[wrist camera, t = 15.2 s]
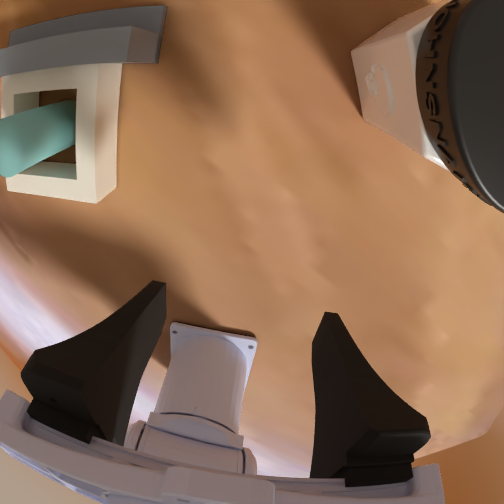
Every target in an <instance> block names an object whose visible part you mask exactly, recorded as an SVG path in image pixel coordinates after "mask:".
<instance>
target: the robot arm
mask: <svg viewBox="0 0 504 504" xmlns="http://www.w3.org/2000/svg"><path fill="white" fill-rule="evenodd" d="M165 319H166V283H163V282H159V281H154V280H153V281H152V282H150V283H149V284H148V285H147V286H146V287H145V288H144V289H142V290H141V291H140V292H139V293H138V294H137V295H136V296H134V297H133V298H132V299H131V300H130V301H128V302H127V303H126V304H125V305H124V306H122V307H121V308H120V309H118V310H117V311H116V312H114V313H113V314H112V315H110V316H109V317H108V318H106V319H105V320H103V321H102V322H100V323H98V324H97V325H95V326H94V327H92V328H90V329H88V330H86V331H84V332H82V333H80V334H78V335H76V336H74V337H72V338H70V339H67V340H65V341H62V342H60V343H57V344H54V345H51V346H48V347H44V348H41V349H37V350H35V351H34V353H33V354H32V355H31V357H30V358H29V360H28V361H27V363H26V365H25V366H24V368H23V370H22V371H21V378H22V380H23V382H24V384H25V385H26V387H27V389H28V390H29V392H30V393H31V395H32V396H33V400H32V402H31V403H30V402H29V401H27V400H26V399H24V398H23V397H21V396H19V395H17V394H15V393H13V392H12V391H10V390H6V391H5V393H4V394H3V396H2V398H1V400H0V447H1V448H2V449H3V450H5V451H6V452H7V453H8V454H9V455H10V456H12V457H14V458H15V459H17V460H19V461H20V462H22V463H24V464H25V465H27V466H29V467H30V468H32V469H34V470H36V471H38V472H39V473H41V474H43V475H44V476H46V477H48V478H50V479H52V480H54V481H56V482H58V483H59V484H61V485H64V486H65V487H67V488H69V489H72V490H74V491H76V492H78V493H80V494H82V495H84V496H86V497H89V498H91V499H93V500H96V501H98V502H100V503H103V504H445V499H444V492H443V486H442V481H441V475H440V470H439V465H438V464H437V463H435V464H429V465H422V466H417V467H414V468H412V466H411V463H412V462H414V455H413V454H414V453H415V452H416V451H418V450H419V449H420V448H421V447H423V446H424V445H425V444H426V443H427V442H428V441H429V439H430V437H431V434H430V430H429V425H428V422H427V419H426V417H425V416H423V415H422V414H420V413H419V412H418V411H416V410H415V409H413V408H412V407H411V406H409V405H408V404H407V403H406V402H405V401H403V400H402V399H401V398H400V397H399V396H398V395H397V394H395V393H394V392H393V391H392V390H391V389H390V388H389V387H388V386H387V385H386V383H385V382H384V381H383V380H382V379H381V378H380V377H379V376H378V374H377V373H376V372H375V371H374V370H373V368H372V367H371V366H370V364H369V363H368V362H367V360H366V359H365V357H364V356H363V355H362V353H361V352H360V350H359V348H358V347H357V345H356V344H355V342H354V340H353V339H352V337H351V335H350V334H349V332H348V330H347V329H346V327H345V325H344V323H343V322H342V320H341V318H340V317H339V315H338V313H331V312H325V313H324V315H323V318H322V320H321V323H320V325H319V327H318V330H317V332H316V335H315V337H314V339H313V342H312V371H313V382H314V392H315V406H316V414H315V434H314V447H313V456H312V464H311V471H310V478H288V477H274V476H263V475H257V463H256V459H255V457H254V455H253V454H252V452H251V450H250V449H249V448H245V447H243V439H244V436H242V435H238V434H239V426H240V418H241V411H242V403H243V395H244V391H245V388H246V384H247V380H248V377H249V373H250V369H251V366H252V362H253V358H254V354H255V351H256V347H257V339H256V338H254V337H249V336H243V335H237V334H232V333H226V332H221V331H216V330H211V329H206V328H201V327H196V326H191V325H186V324H182V323H177V322H173V323H171V325H170V348H171V361H170V364H169V367H168V370H167V373H166V376H165V379H164V382H163V385H162V388H161V391H160V394H159V398H158V401H157V404H156V407H155V410H154V412H150V415H149V418H148V421H147V424H146V422H145V421H142V420H139V421H137V423H134V424H132V425H131V426H130V427H129V429H128V430H127V427H128V423H129V419H130V415H131V411H132V407H133V404H134V400H135V396H136V393H137V390H138V387H139V383H140V380H141V377H142V375H143V372H144V370H145V368H146V366H147V363H148V361H149V359H150V357H151V355H152V352H153V350H154V348H155V346H156V344H157V341H158V339H159V337H160V335H161V332H162V329H163V325H164V322H165ZM174 330H175V331H174ZM249 345H252V346H249ZM126 432H127V433H126Z"/></svg>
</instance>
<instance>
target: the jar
mask: <svg viewBox="0 0 504 504" xmlns="http://www.w3.org/2000/svg"><path fill="white" fill-rule="evenodd" d="M351 57H352V61H353V66H354V71H355V76H356V81H357V86H358V92H359V97H360V103H361V109H362V115H363V120H364V121H365V122H366V123H368V124H370V125H372V126H374V127H375V128H377V129H379V130H381V131H382V132H384V133H386V134H388V135H389V136H391V137H393V138H394V139H396V140H398V141H399V142H401V143H403V144H404V145H406V146H407V147H409V148H411V149H412V150H414V151H415V152H417V153H418V154H420V155H421V156H423V157H425V158H426V159H428V160H430V161H432V162H434V163H436V164H437V165H439V166H441V167H443V168H445V169H446V170H448V171H450V172H451V173H452V174H453V175H454V176H455V177H456V178H457V179H459V180H460V181H461V182H462V183H463V185H464V186H465V187H466V188H468V189H469V190H470V191H471V192H472V193H474V194H475V195H476V196H477V197H479V198H480V199H481V200H482V201H484V202H485V203H487V204H489V205H490V206H493V207H495V208H496V209H497V210H499V211H500V212H502V213H504V0H441V1H439V2H436V3H433V4H431V5H428V6H426V7H423V8H421V9H418V10H416V11H413V12H411V13H409V14H406V15H404V16H402V17H399V18H398V19H396V20H395V21H393V22H392V23H390V24H389V25H387V26H386V27H384V28H383V29H381V30H380V31H378V32H377V33H376V34H374V35H373V36H371V37H370V38H368V39H367V40H365V41H364V42H363V43H361V44H360V45H358V46H357V47H356V48H354V49H353V50H352V51H351Z"/></svg>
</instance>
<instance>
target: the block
mask: <svg viewBox="0 0 504 504" xmlns="http://www.w3.org/2000/svg"><path fill="white" fill-rule="evenodd" d="M121 72H122V63H99V64H85V65H73V66H64V67H56V68H48V69H41V70H35V71H29V72H23V73H17V74H12V75H7V76H3V77H2V92H1V119H2V118H5V117H8V116H11V115H14V114H17V113H20V112H24V111H27V110H31V109H34V108H38V107H39V91H48V90H61V89H77V99H76V164H70V163H58V162H44V161H40V162H38V163H36V164H35V165H33V166H31V167H29V168H27V169H25V170H23V171H22V172H20V173H18V174H16V175H14V176H13V177H9V178H8V177H6V183H7V191H13V192H20V193H27V194H34V195H41V196H48V197H55V198H62V199H69V200H75V201H82V202H89V203H95V204H97V203H98V202H99V201H100V200H102V199H103V198H104V197H105V196H106V195H108V194H109V193H110V192H111V191H113V190H114V189H115V188H116V152H117V123H118V106H119V93H120V82H121Z"/></svg>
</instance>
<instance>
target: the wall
mask: <svg viewBox="0 0 504 504" xmlns="http://www.w3.org/2000/svg"><path fill="white" fill-rule="evenodd" d="M166 10H167V7H166V6H164V5H162V6H142V7H129V8H119V9H110V10H102V11H95V12H89V13H83V14H77V15H72V16H67V17H62V18H58V19H53V20H49V21H45V22H41V23H37V24H33V25H30V26H26V27H23V28H20V29H16V30H13V31H10V36H9V44H8V47H7V48H3V49H0V77H3V76H7V75H12V74H17V73H23V72H29V71H35V70H41V69H48V68H56V67H64V66H73V65H85V64H99V63H158V60H159V53H160V46H161V39H162V33H163V27H164V21H165V16H166Z"/></svg>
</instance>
